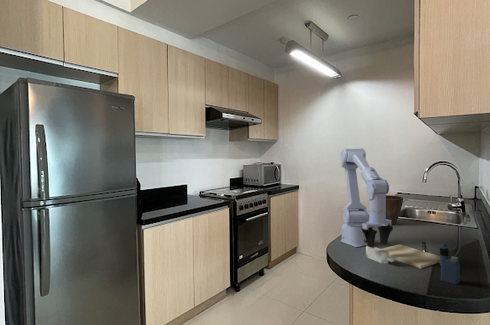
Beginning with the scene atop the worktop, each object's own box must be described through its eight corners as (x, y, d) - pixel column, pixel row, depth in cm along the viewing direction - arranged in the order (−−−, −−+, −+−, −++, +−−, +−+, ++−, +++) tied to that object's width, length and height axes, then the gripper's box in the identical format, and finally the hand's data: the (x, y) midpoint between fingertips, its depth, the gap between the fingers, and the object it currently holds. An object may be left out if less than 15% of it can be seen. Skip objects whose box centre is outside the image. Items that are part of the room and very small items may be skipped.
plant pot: (403, 222, 162) (403, 196, 162) (402, 228, 150) (402, 199, 149) (376, 219, 170) (376, 194, 170) (373, 224, 158) (373, 197, 157)
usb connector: (364, 256, 109) (364, 246, 109) (369, 255, 110) (369, 245, 110) (390, 266, 99) (390, 255, 99) (396, 264, 100) (396, 254, 100)
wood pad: (375, 252, 113) (375, 250, 113) (399, 246, 120) (399, 244, 120) (420, 268, 97) (420, 265, 97) (444, 260, 104) (444, 257, 104)
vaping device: (439, 277, 89) (439, 241, 89) (459, 282, 86) (460, 245, 86) (438, 280, 87) (439, 243, 87) (459, 285, 84) (460, 247, 84)
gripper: (374, 214, 98) (373, 251, 98) (398, 210, 105) (398, 245, 105) (357, 211, 104) (357, 245, 105) (382, 207, 111) (382, 240, 111)
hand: (377, 245), depth 105 cm, fingers open, 7 cm apart
